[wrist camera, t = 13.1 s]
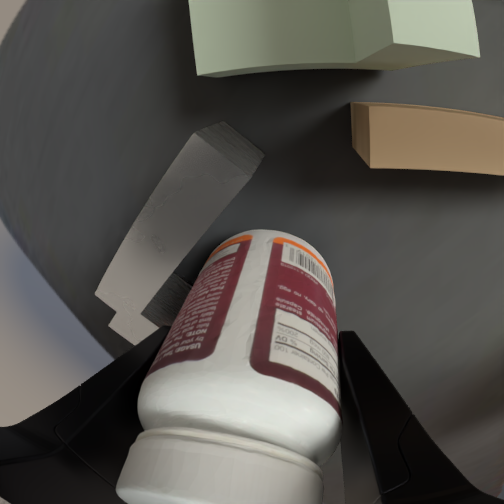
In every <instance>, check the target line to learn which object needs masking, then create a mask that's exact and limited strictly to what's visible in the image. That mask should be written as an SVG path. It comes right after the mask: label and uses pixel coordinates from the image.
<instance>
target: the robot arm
mask: <svg viewBox="0 0 504 504" xmlns="http://www.w3.org/2000/svg"><path fill="white" fill-rule="evenodd" d="M171 327H172V326H166V325H164V326H162V327H160V328H159V329H157V330H156V331H154V332H153V333H152V334H150V335H149V336H148V337H146V338H145V339H143V340H142V341H141V342H139V343H138V344H137V345H135V346H134V347H132V348H131V349H130V350H128V351H127V352H125V353H124V354H123V355H121V356H120V357H118V358H117V359H116V360H114V361H113V362H112V363H110V364H109V365H108V366H106V367H105V368H103V369H102V370H100V371H99V372H98V373H96V374H95V375H94V376H92V377H91V378H89V379H88V380H87V381H85V382H84V383H82V384H81V386H78V387H77V388H75V389H74V390H72V391H71V392H70V393H68V394H67V395H65V396H64V397H62V398H61V399H59V400H58V401H56V402H54V403H53V404H51V405H49V406H48V407H46V408H45V409H43V410H41V411H39V412H37V413H36V414H34V415H32V416H30V417H29V418H27V419H25V420H23V421H22V422H20V423H18V424H15V425H12V426H8V427H0V504H128V503H126V502H124V501H123V500H122V499H121V498H120V497H119V496H118V494H117V493H116V486H117V482H118V479H119V477H120V474H121V471H122V469H123V466H124V464H125V461H126V459H127V457H128V453H129V450H130V447H131V446H132V445H133V444H134V443H135V441H136V439H137V437H138V435H139V434H140V433H142V432H144V429H143V427H142V425H141V422H140V420H139V416H138V408H137V406H138V396H139V393H140V389H141V385H142V383H143V381H144V379H145V377H146V375H147V373H148V371H149V370H150V368H151V366H152V364H153V362H154V360H155V358H156V356H157V354H158V352H159V350H160V348H161V347H162V345H163V343H164V341H165V339H166V337H167V335H168V333H169V331H170V329H171ZM338 349H339V363H340V381H341V403H342V419H343V429H342V434H341V438H340V443H341V454H342V466H343V480H344V496H345V504H504V500H502V499H500V498H497V497H494V496H491V495H489V494H486V493H484V492H482V491H480V490H479V489H477V488H476V487H475V486H473V485H472V484H471V483H470V482H469V481H468V480H467V479H466V478H465V477H464V475H463V474H462V473H461V472H460V471H459V470H458V469H457V468H456V466H455V465H454V464H453V463H452V462H451V461H450V460H449V459H448V457H447V456H446V455H445V454H444V453H443V452H442V451H441V450H440V448H439V447H438V446H437V445H436V444H435V442H434V441H433V440H432V439H431V438H430V436H429V435H428V434H427V432H426V431H425V430H424V428H423V427H422V425H421V424H420V423H419V421H418V420H417V418H416V417H415V415H414V414H412V411H411V410H410V408H409V407H408V405H407V404H406V403H405V401H404V400H403V398H402V397H401V395H400V394H399V393H398V391H397V390H396V388H395V387H394V385H393V384H392V383H391V381H390V380H389V378H388V377H387V376H386V374H385V373H384V371H383V370H382V369H381V367H380V366H379V364H378V363H377V362H376V360H375V359H374V358H373V356H372V355H371V353H370V352H369V351H368V349H367V348H366V347H365V345H364V344H363V342H362V341H361V340H360V338H359V337H358V336H357V334H356V333H355V332H354V331H340V333H339V339H338Z"/></svg>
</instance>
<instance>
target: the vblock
mask: <svg viewBox="0 0 504 504" xmlns="http://www.w3.org/2000/svg"><path fill="white" fill-rule="evenodd" d="M264 156H265V153H263V152H262V151H261V150H260V149H258V148H257V147H256V146H255V145H254V144H252V143H251V142H250V141H249V140H247V139H246V138H245V137H244V136H242V135H241V134H240V133H239V132H237V131H236V130H235V129H233V128H232V127H231V126H230V125H228V124H227V123H226V122H224V121H221V122H219V123H216V124H214V125H211V126H209V127H206V128H204V129H201V130H199V131H197V132H194V133H193V134H192V136H191V137H190V139H189V140H188V141H187V143H186V144H185V146H184V147H183V148H182V150H181V151H180V153H179V154H178V156H177V157H176V158H175V160H174V161H173V163H172V164H171V166H170V167H169V169H168V170H167V172H166V173H165V175H164V176H163V178H162V179H161V181H160V182H159V184H158V185H157V187H156V188H155V190H154V191H153V193H152V194H151V196H150V198H149V199H148V201H147V202H146V204H145V206H144V207H143V209H142V210H141V212H140V214H139V215H138V217H137V218H136V220H135V222H134V223H133V225H132V227H131V228H130V230H129V232H128V234H127V235H126V237H125V239H124V240H123V242H122V244H121V246H120V247H119V249H118V251H117V253H116V255H115V256H114V258H113V260H112V262H111V264H110V265H109V267H108V269H107V271H106V273H105V275H104V277H103V278H102V280H101V282H100V284H99V286H98V288H97V290H96V292H95V295H96V296H97V297H99V298H100V299H101V300H102V301H104V302H105V303H106V304H107V305H109V306H110V307H111V308H112V309H114V310H115V311H116V312H117V313H116V314H115V316H114V318H113V319H112V321H111V322H110V324H109V325H108V326H109V327H110V328H112V329H113V330H114V331H116V332H117V333H118V334H120V335H121V336H122V337H124V338H125V339H127V340H128V341H129V342H131V343H132V344H133V345H137V344H138V343H139V342H141V341H142V340H143V339H145V338H146V337H148V336H149V335H150V334H152V333H153V332H154V331H156V330H157V329H159V328H160V327H162V326H164V325H166V326H172V325H173V323H174V321H175V319H176V317H177V315H178V313H179V312H180V310H181V308H182V306H183V304H184V302H185V300H186V298H187V296H188V294H189V293H190V291H191V289H192V287H193V286H191V285H190V284H189V283H187V282H186V281H185V280H183V279H182V278H181V277H179V276H178V275H177V274H175V273H174V272H173V271H174V270H175V269H176V267H177V266H178V265H179V264H180V262H181V261H182V260H183V259H184V257H185V256H186V255H187V254H188V252H189V251H190V250H191V249H192V247H193V246H194V245H195V244H196V243H197V241H198V240H199V239H200V238H201V236H202V235H203V234H204V233H205V232H206V230H207V229H208V228H209V227H210V226H211V224H212V223H213V222H214V221H215V220H216V218H217V217H218V216H219V215H220V214H221V212H222V211H223V210H224V209H225V208H226V206H227V205H228V204H229V203H230V202H231V201H232V199H233V198H234V197H235V196H236V195H237V194H238V192H239V191H240V190H241V189H242V188H243V187H244V185H245V184H246V183H247V182H248V181H249V180H250V178H251V177H252V175H253V174H254V172H255V170H256V169H257V167H258V165H259V164H260V162H261V161H262V159H263V157H264Z"/></svg>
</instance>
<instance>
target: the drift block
mask: <svg viewBox="0 0 504 504" xmlns="http://www.w3.org/2000/svg"><path fill="white" fill-rule="evenodd" d="M189 9H190V19H191V28H192V36H193V45H194V54H195V62H196V70H197V75H199V76H208V77H216V78H219V77H225V76H233V75H241V74H249V73H259V72H269V71H282V70H299V69H372V70H389V71H393V70H398V69H403V68H408V67H414V66H419V65H425V64H431V63H438V62H445V61H452V60H461V59H470V58H480V52H479V43H478V35H477V28H476V22H475V16H474V10H473V5H472V0H189Z"/></svg>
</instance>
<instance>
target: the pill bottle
mask: <svg viewBox="0 0 504 504" xmlns="http://www.w3.org/2000/svg"><path fill="white" fill-rule="evenodd" d="M137 408H138V416H139V420H140V422H141V425H142V427H143V429H144V432H142V433H140V434H139V435H138V437H137V439H136V441H135V443H134V444H133V445H132V446H131V447H130V450H129V453H128V457H127V459H126V461H125V464H124V466H123V469H122V471H121V474H120V477H119V479H118V482H117V486H116V493H117V494H118V496H119V497H120V498H121V499H122V500H123V501H124V502H126V503H128V504H322V499H323V490H324V486H323V482H322V481H323V472H322V470H321V469H320V468H319V467H320V466H321V465H322V464H324V463H325V462H326V461H327V460H328V459H329V458H330V457H331V456H332V454H333V453H334V452H335V450H336V448H337V446H338V444H339V442H340V438H341V434H342V429H343V419H342V403H341V381H340V363H339V349H338V331H337V321H336V309H335V296H334V290H333V281H332V276H331V273H330V270H329V268H328V266H327V264H326V262H325V261H324V259H323V258H322V256H321V255H320V254H319V253H318V252H317V251H316V250H315V249H314V248H313V247H312V246H311V245H310V244H308V243H307V242H305V241H304V240H302V239H300V238H298V237H296V236H293V235H291V234H288V233H284V232H280V231H275V230H264V229H260V230H249V231H245V232H242V233H239V234H237V235H234V236H233V237H230V238H228V239H227V240H225V241H224V242H222V243H221V244H220V245H219V246H218V247H217V248H216V249H215V250H214V251H213V252H212V253H211V255H210V256H209V258H208V259H207V261H206V263H205V265H204V266H203V268H202V270H201V271H200V273H199V276H198V277H197V279H196V281H195V283H194V285H193V287H192V289H191V291H190V293H189V294H188V296H187V298H186V300H185V302H184V304H183V306H182V308H181V310H180V312H179V313H178V315H177V317H176V319H175V321H174V323H173V325H172V327H171V329H170V331H169V333H168V335H167V337H166V339H165V341H164V343H163V345H162V347H161V348H160V350H159V352H158V354H157V356H156V358H155V360H154V362H153V364H152V366H151V368H150V370H149V371H148V373H147V375H146V377H145V379H144V381H143V383H142V385H141V389H140V393H139V396H138V406H137Z"/></svg>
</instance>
